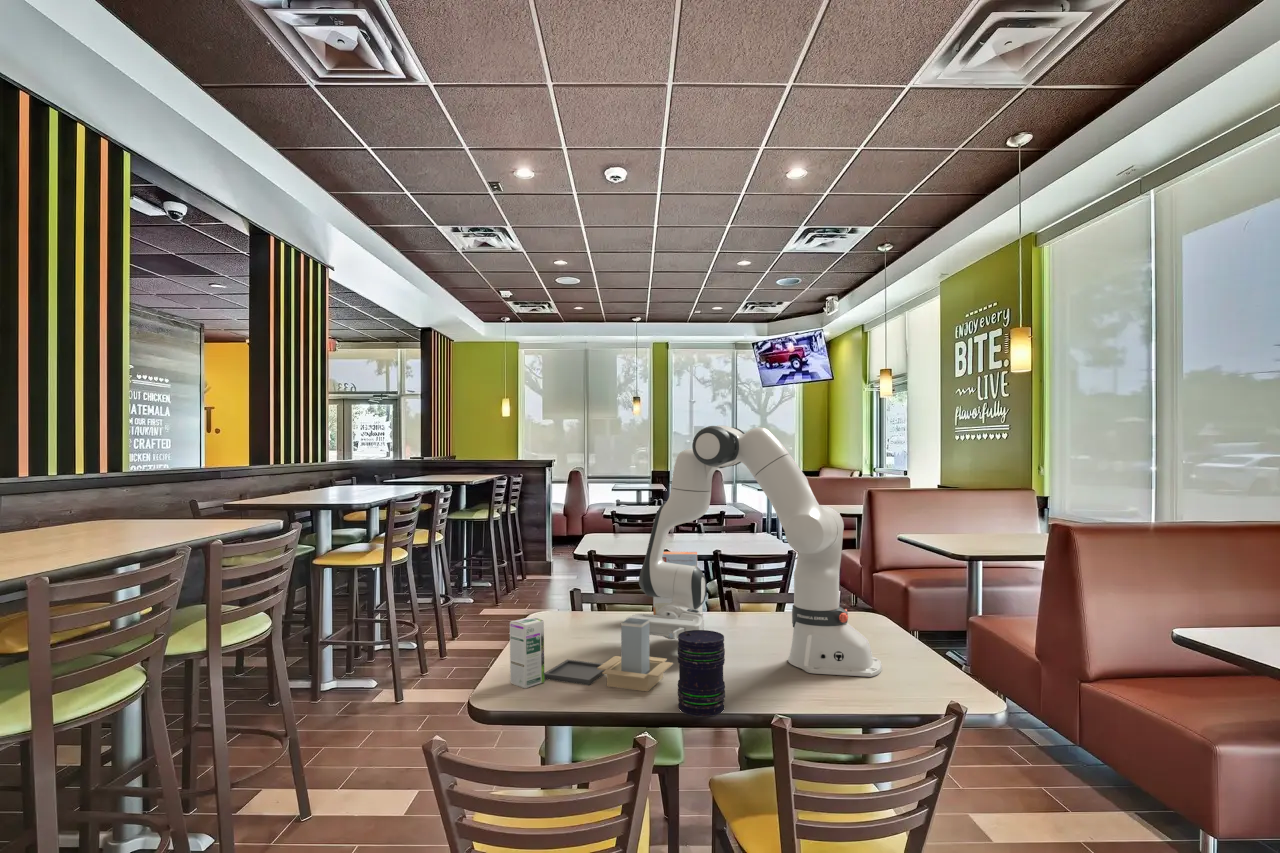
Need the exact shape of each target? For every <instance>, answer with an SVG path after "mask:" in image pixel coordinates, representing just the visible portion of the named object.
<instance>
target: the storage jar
mask: <svg viewBox="0 0 1280 853" xmlns="http://www.w3.org/2000/svg"><path fill="white" fill-rule="evenodd" d="M677 640H678V642H677V663H678V664H679V665H678V667H679V668H678V674H679V675H678V676H679V677H678V681H677V697H678V698H677V700H678V704H677V706H678V707H677V708H679V709H680V710H681V711H682V712H683V714H685V715H687V716H690V717H691V716H692V717H698V718H699V717H700V718H703V717H705V718H706V717H707V718H708V717H714V716H719V715H720V713H721V712H722V711H723V710H724V711H725V709H724V708H725V698H726V691H725V690H726V689H725V688H726V686H725V685H726V684H725V681H724V665H725V661H726V659H725V658H726V657H725V651H726V650H725V642H724V641H725V635H724V634H723V633H721V632H718V631H714V630H707V629H706V630H691V631H685V632H682V633H680V634H679V635H678V638H677ZM679 709H678V710H679ZM680 710H679V711H680ZM681 711H680V712H681ZM724 711H723V712H724ZM682 712H681V713H682ZM723 712H722V713H723ZM722 713H721V714H722Z"/></svg>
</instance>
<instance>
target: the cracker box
mask: <svg viewBox="0 0 1280 853" xmlns="http://www.w3.org/2000/svg"><path fill="white" fill-rule="evenodd" d="M662 559H663V561H664V562H668V563H674V564H681V565H682V564H683V565H689V566H695V567H698V552H697V551H664V552H663V556H662ZM652 600H653V602H652V604H653V605H652V606H653V614H652V615H656V614H657V612H658V611H659V609H661V608H662V607H664V606H665V605H667V604H669V603H671V602H672V601H673V599H671V598H665V597H652Z"/></svg>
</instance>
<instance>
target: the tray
mask: <svg viewBox="0 0 1280 853" xmlns="http://www.w3.org/2000/svg"><path fill="white" fill-rule="evenodd" d="M602 664H603V663H599V662H593V661H583V660H576V659H575V660H574V659H568V658H567V659H566V660H564V661H562V662H561V663H559V664H557V665H556V666H554V667H552V668H550V669H549V670H547V671H546V672H545V671H544V678H545V680H548V679H550V680H549V681H555V682H556V681H557V682H564V683H569V684H570V683H572V684H577V685H584V686H585V685H586V686H590V685H592V684H593V683H594V682H596V681H597V680H599V679H600V678H602V677H603V676H604V675H605V674H602V672H604V671H605V670H599V669H597V668H598V667H599V666H601V665H602ZM591 683H592V684H591Z"/></svg>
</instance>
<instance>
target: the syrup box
mask: <svg viewBox="0 0 1280 853" xmlns="http://www.w3.org/2000/svg"><path fill="white" fill-rule="evenodd" d="M509 655H510V656H509V665H510V666H509V668H510V669H509V670H510V671H509V672H510V675H509V676H510V677H509V678H510V680H509V681H510V683H511V684H512V685H514V686H516V687H519V688H522V689H528V688H530V687H534V686H537V685H540V684H544V683H545V680H546V679H545V678H544V673H545V621H544V620H543V619H540V618H537V617H532V616H531V617H530V616H528V617H525V618H521V619H520V618H519V619H516V620H511V621H509Z"/></svg>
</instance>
